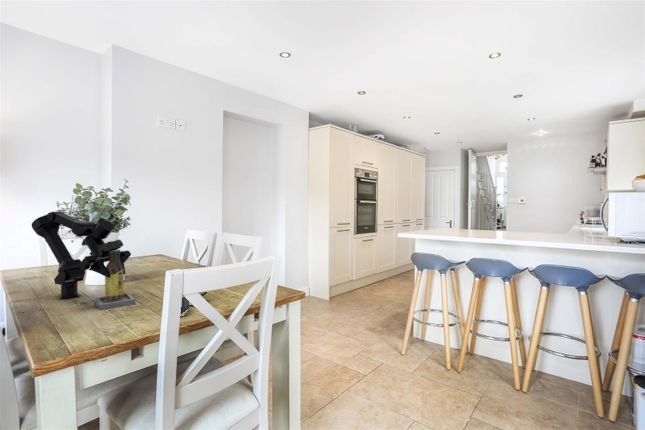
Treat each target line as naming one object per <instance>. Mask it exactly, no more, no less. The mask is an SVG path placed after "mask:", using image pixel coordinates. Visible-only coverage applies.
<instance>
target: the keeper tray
mask: <svg viewBox="0 0 645 430" xmlns="http://www.w3.org/2000/svg"><path fill="white" fill-rule="evenodd" d="M94 304H95V305H96V307H97V308H98V310H99V311H104V310H109V309H113V308H120V307H121V308H122V307H125V306H132V305H136V299H135V297H133V295H132V294H131V293H130V292H125V293H124V292H123V297H122V298H121V299H117V300H106V296H105V295H104V296H100V297H95V300H94Z"/></svg>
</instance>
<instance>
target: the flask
mask: <svg viewBox="0 0 645 430" xmlns="http://www.w3.org/2000/svg"><path fill="white" fill-rule="evenodd" d="M188 307H189V308H190V306H189V301H188V300H187V299H186V298H185V297H183V298H182V307H181V314H182V313H183V312H185V311H186V310H187V309H188Z"/></svg>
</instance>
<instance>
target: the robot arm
mask: <svg viewBox="0 0 645 430" xmlns="http://www.w3.org/2000/svg"><path fill="white" fill-rule="evenodd" d="M60 226H63V227H66V228H67V229H69V230H71V233H73V234H74V235H75V236H76V237H85V238H83V239H82V242H81V246H84V247H85V246H87V248H88V250H90V253H89V255H87V256H84V258H83V259H80V258H76V259H74V258H73V257H72V254H71V253H70V252H69V250H68V248H67V246H66V244H65V243H64V242H63V240H62V237H61V236H60V234H59V230H60ZM31 228H32V230H33V231H34V232H35V234H36V235H37V236H40V237H41V238H43V239H44V240H45V242H46V244H47V246H48V247H49V249H50V251H51V253H52V254H53V256H54V258H55V259H56V261H57V263H58V268H57V275H56V276H55V278H54V280H53V281H54V285H58V286H59V285H60V294H58V295H59V300H65V299H72V298H77V297H78V298H79V297H80V293H79V290H78V288H79V287H78V286H79V282H83V281H84V278H85V275H86V271H87V270H89V272H90V271H91V272H92V271H93V272H94V273H98V274H100V275H102V276H104V277H105V276H106V277H108V278H110V277H111V275H110V273H109V271H108V270H107V268H106V266H105V263H109V250H120V252H121V253H120V261H121V264H122V266H123V268H124V275H125V274H126V269H125V263H126V262H127V261H128V259H129V258H130V257H131V255H132V253H131V251H130V250H121V248H122V247H123V246H124V243H123V241H122V240H121V239H116V240H111V241H107V242H105V241H104V240H106V239H107V238H108V237H109V236H110V234H111V233H112V232H113V230H114V229H115V225H114V223H112V222H111V221H109V220H106V219H105V218H99V219H98V220H97V222H96V223H95V222H93V221H90V220H89V221H87V220H86V221H85V220H80V219H78V218H76V217H74V216H71V215H69V214H66V213H64V211H50V212H48V213H47V214H44V215H42V216H40V217H39V216H38V217H37V218H35V219H34V220H33V221H32V223H31Z"/></svg>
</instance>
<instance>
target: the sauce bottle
mask: <svg viewBox="0 0 645 430" xmlns="http://www.w3.org/2000/svg"><path fill="white" fill-rule="evenodd" d="M120 251H121V249H117V250H109V262H107V264H106V266H105V267H106V268H107V270H108V271H109V273H110V275H111V277H110V278H108V277H106V276H104V293H105V295H104V297H105V296H106V300H117V299H121V298H122V297H123V294H124V285H125V284H124V283H125V282H124V281H125V280H124V279H125V278H124V275H125V274H124V268H123V266H122V264H121V261H120V253H121V252H120Z"/></svg>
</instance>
